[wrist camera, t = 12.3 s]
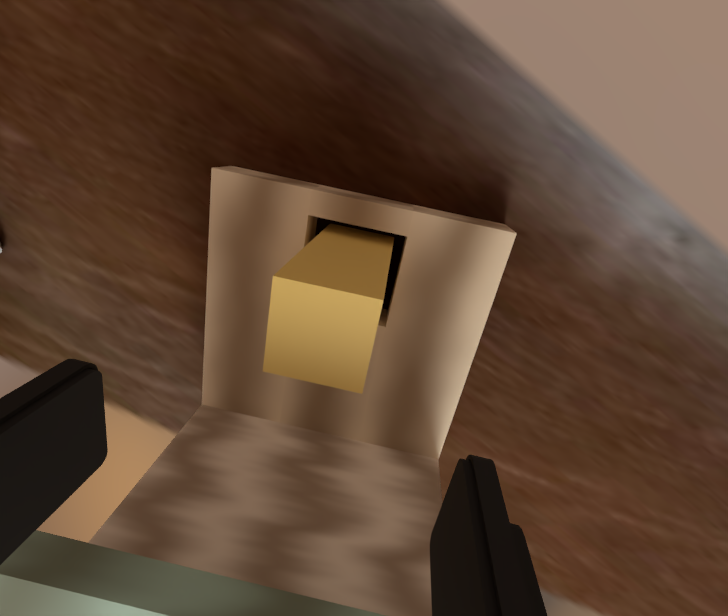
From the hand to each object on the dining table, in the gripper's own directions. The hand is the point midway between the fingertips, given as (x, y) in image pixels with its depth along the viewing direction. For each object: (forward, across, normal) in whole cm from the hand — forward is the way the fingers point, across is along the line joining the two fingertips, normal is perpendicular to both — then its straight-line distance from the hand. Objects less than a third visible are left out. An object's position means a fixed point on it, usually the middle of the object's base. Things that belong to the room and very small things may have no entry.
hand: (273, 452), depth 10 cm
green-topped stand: (+19, +1, +5) cm, 19 cm away
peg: (+18, 0, 0) cm, 19 cm away
